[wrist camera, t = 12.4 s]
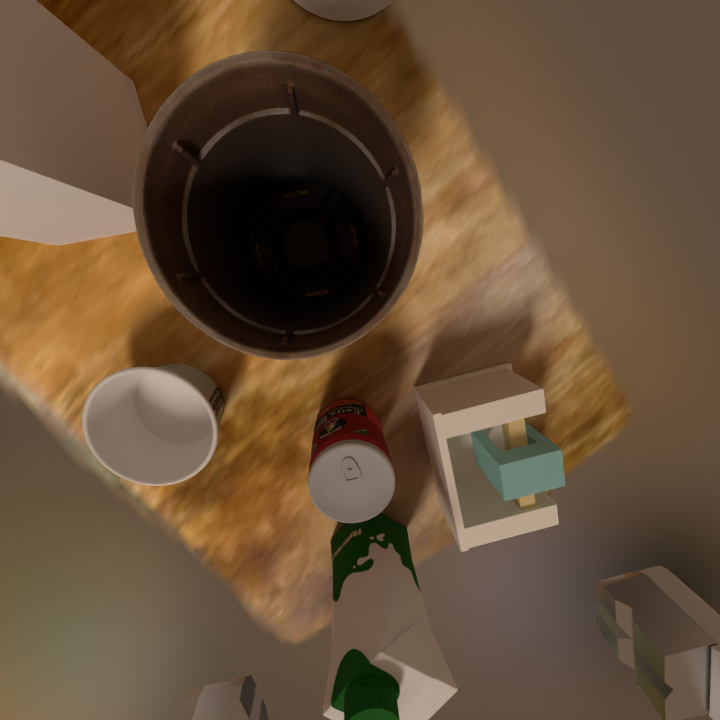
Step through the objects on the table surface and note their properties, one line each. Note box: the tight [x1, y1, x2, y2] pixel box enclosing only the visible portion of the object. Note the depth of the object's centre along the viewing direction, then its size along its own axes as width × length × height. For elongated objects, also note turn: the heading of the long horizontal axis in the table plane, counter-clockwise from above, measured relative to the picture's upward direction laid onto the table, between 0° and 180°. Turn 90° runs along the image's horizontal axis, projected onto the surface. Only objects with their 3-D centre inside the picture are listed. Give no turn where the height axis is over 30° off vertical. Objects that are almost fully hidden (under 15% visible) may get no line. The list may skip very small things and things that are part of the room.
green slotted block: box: [471, 421, 565, 501], centre depth 36 cm, size 4×6×7 cm, turn 104°
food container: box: [82, 364, 223, 486], centre depth 35 cm, size 12×12×6 cm
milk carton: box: [323, 512, 458, 720], centre depth 35 cm, size 9×9×20 cm
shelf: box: [414, 362, 559, 552], centre depth 38 cm, size 16×11×8 cm
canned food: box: [308, 399, 395, 523], centre depth 35 cm, size 8×8×11 cm
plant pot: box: [133, 51, 423, 360], centre depth 27 cm, size 16×16×16 cm
